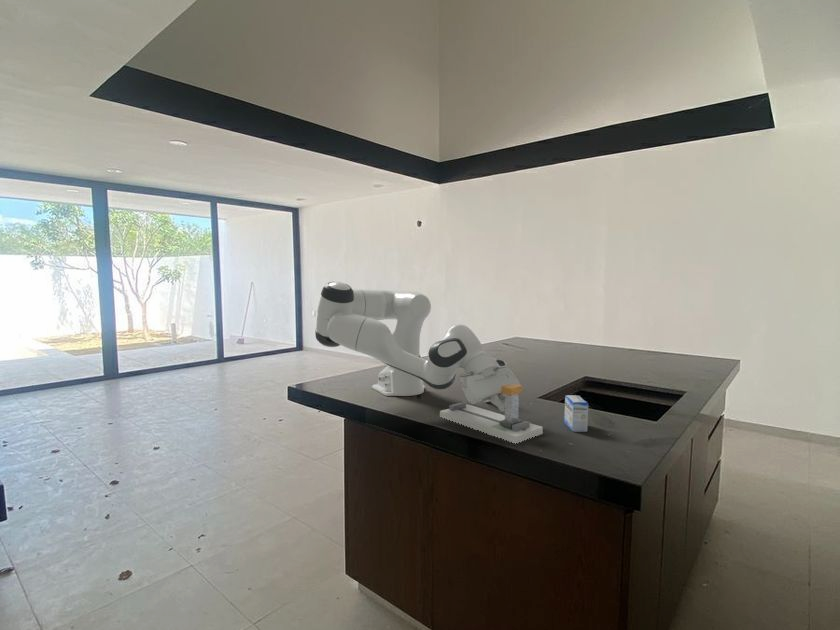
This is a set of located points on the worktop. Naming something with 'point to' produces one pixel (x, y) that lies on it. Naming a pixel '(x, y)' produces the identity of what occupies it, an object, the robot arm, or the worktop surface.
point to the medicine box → (576, 413)
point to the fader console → (490, 422)
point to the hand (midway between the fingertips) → (506, 409)
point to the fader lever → (511, 404)
